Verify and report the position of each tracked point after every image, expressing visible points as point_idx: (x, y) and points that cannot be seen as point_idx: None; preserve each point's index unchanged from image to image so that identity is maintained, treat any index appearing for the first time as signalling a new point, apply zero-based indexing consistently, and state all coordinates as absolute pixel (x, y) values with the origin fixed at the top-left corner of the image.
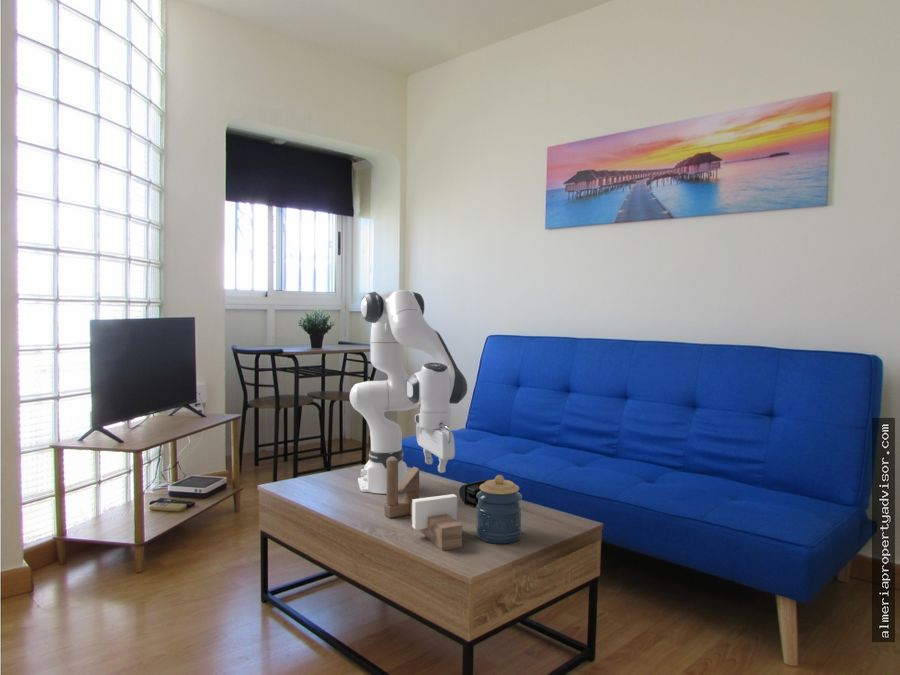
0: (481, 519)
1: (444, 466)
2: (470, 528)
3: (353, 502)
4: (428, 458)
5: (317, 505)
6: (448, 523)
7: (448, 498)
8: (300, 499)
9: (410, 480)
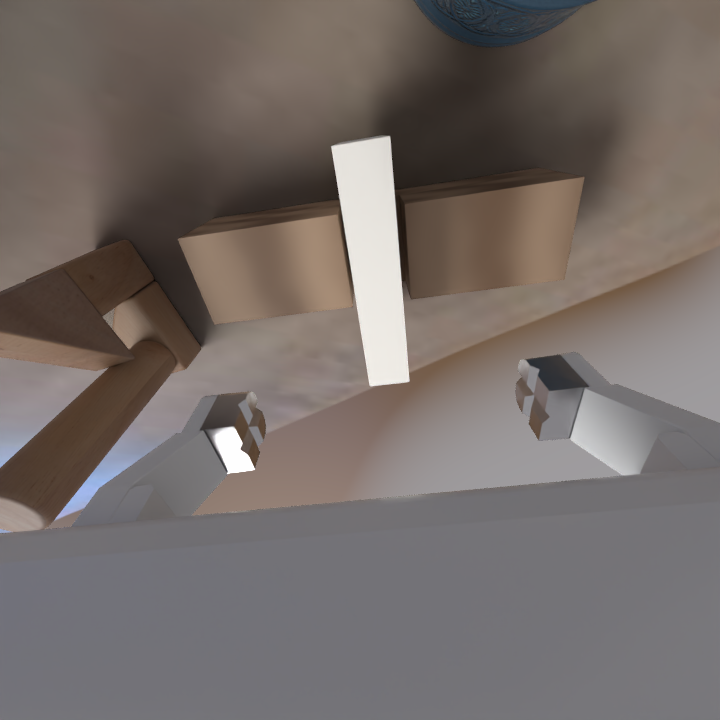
0: (570, 11)
1: (605, 391)
2: (353, 42)
3: (52, 415)
4: (248, 459)
5: (98, 482)
6: (526, 236)
7: (395, 206)
8: None
9: (59, 342)
